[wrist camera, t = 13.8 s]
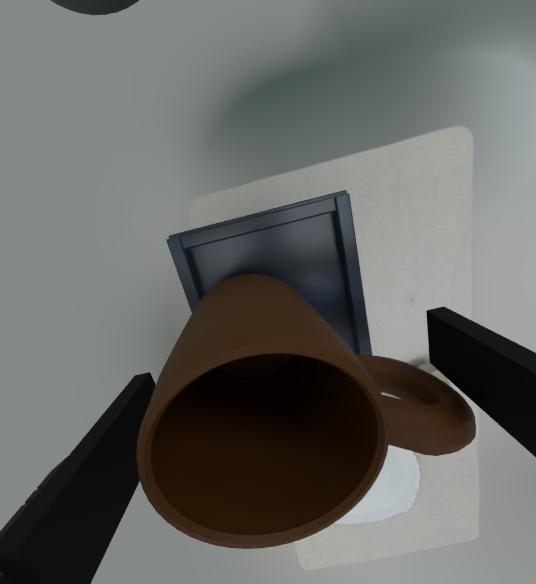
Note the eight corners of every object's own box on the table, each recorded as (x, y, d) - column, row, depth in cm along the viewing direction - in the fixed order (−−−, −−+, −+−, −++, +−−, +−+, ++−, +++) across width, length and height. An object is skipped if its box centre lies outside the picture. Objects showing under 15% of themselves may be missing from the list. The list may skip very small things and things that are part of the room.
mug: (381, 279, 16) (561, 345, 7) (360, 381, 18) (482, 535, 9) (192, 265, 15) (120, 328, 6) (190, 379, 16) (133, 565, 7)
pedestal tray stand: (226, 226, 37) (160, 236, 14) (298, 207, 36) (352, 187, 13) (251, 317, 41) (233, 439, 18) (317, 302, 40) (383, 409, 18)
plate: (411, 418, 47) (417, 426, 45) (417, 504, 53) (422, 514, 52) (291, 439, 48) (292, 448, 46) (311, 521, 55) (313, 531, 53)
